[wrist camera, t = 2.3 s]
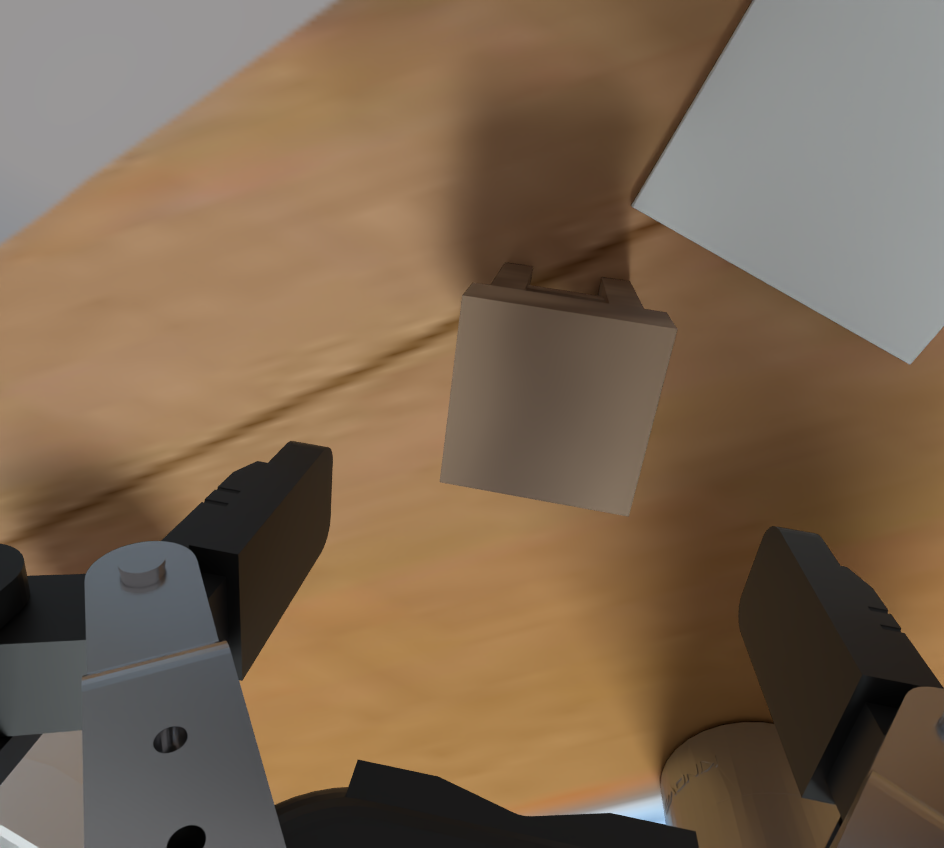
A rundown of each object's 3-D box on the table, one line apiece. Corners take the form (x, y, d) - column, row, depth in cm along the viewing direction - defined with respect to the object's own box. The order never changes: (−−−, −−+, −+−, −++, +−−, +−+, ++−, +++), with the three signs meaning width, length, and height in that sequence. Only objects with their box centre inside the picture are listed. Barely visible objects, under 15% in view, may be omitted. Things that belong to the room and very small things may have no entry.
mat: (1184, 33, 20) (1201, 29, 19) (902, 360, 24) (909, 364, 24) (854, -172, 19) (862, -182, 18) (630, 206, 24) (632, 206, 23)
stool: (641, 273, 24) (677, 329, 16) (610, 407, 27) (629, 516, 18) (497, 252, 25) (462, 295, 17) (479, 385, 27) (439, 482, 19)
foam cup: (123, 553, 33) (-124, 769, 22) (282, 629, 34) (126, 881, 22) (89, 672, 37) (-136, 910, 25) (233, 738, 38) (77, 1004, 26)
